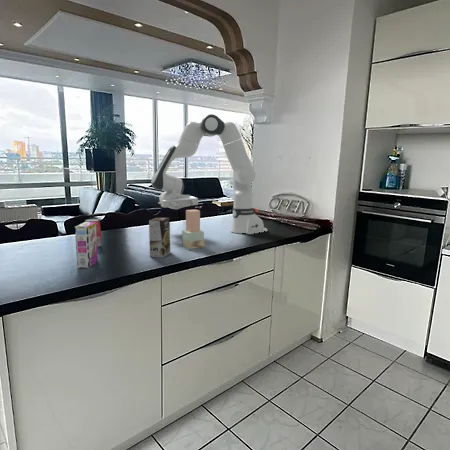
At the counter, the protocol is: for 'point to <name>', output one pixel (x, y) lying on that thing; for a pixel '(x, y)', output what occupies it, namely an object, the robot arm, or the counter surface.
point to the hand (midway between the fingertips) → (185, 203)
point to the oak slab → (194, 244)
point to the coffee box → (159, 237)
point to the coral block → (192, 220)
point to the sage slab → (192, 235)
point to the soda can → (97, 230)
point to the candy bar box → (86, 244)
